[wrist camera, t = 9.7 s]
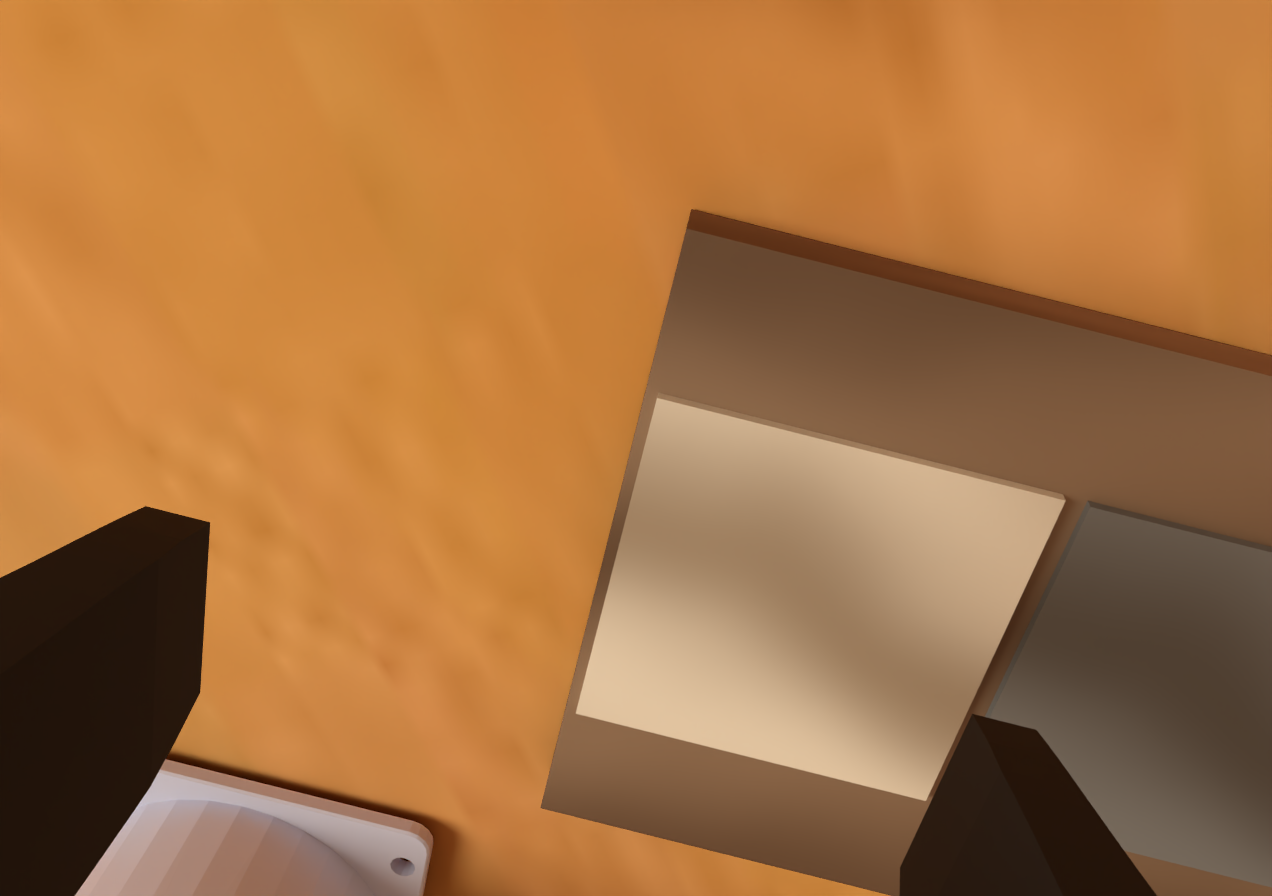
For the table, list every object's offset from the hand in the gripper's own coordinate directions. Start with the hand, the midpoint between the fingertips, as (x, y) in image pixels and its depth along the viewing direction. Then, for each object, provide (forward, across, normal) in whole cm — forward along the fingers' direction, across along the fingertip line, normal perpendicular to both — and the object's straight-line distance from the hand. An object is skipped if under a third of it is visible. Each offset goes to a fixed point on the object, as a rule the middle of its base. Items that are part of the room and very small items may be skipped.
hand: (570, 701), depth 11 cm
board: (+9, -14, +4) cm, 17 cm away
